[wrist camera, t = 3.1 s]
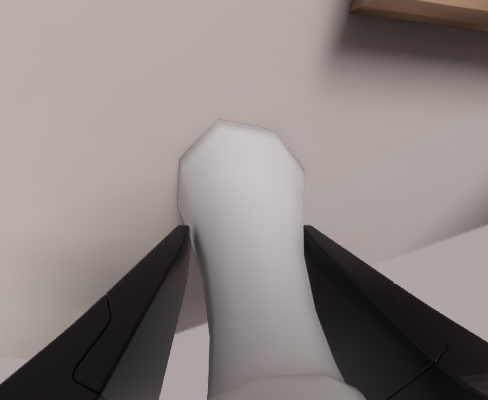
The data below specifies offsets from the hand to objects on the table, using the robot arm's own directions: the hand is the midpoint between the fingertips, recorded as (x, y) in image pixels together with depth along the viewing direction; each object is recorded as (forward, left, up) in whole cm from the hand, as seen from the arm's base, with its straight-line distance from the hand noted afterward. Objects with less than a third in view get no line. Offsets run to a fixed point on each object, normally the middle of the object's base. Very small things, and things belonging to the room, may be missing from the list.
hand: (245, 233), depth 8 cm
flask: (0, 0, -5) cm, 5 cm away
